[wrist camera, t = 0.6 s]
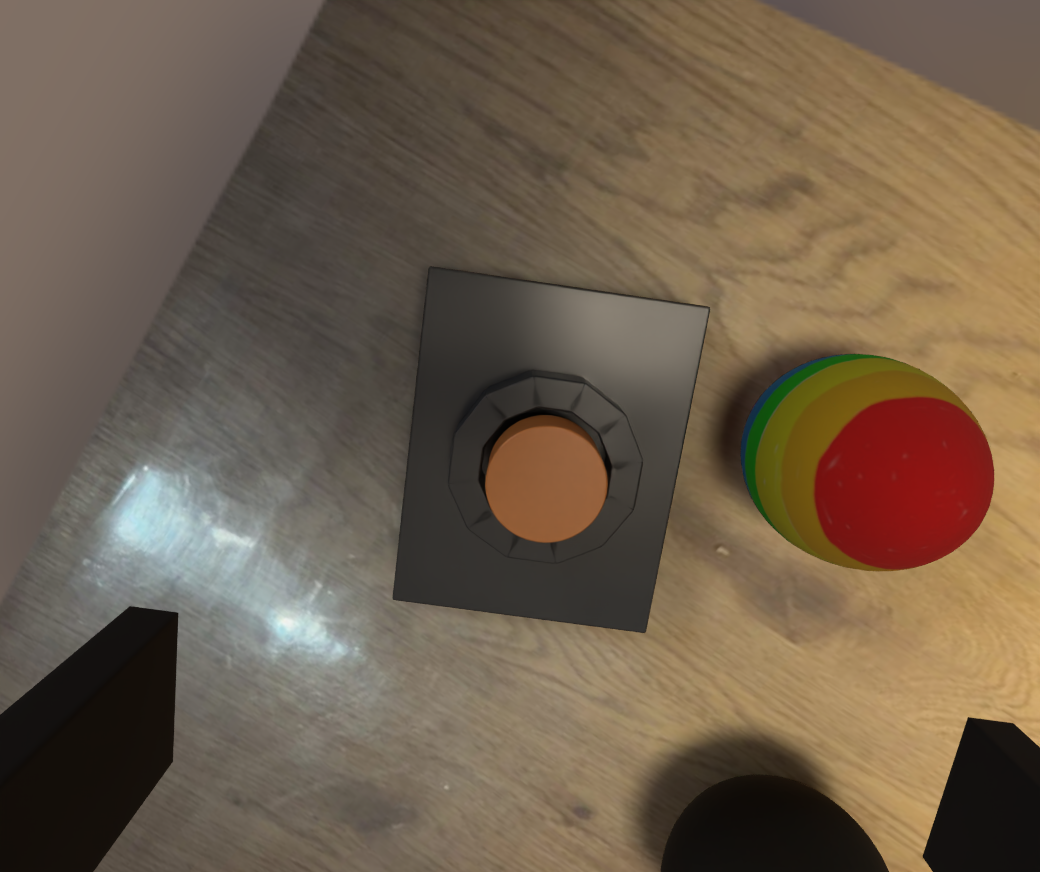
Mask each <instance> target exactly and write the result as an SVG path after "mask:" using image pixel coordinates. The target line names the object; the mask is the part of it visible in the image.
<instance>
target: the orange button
mask: <svg viewBox="0 0 1040 872" xmlns="http://www.w3.org/2000/svg"><path fill="white" fill-rule="evenodd" d="M607 487H608V480H607V472H606V468H605V465H604V462H603V460H602V458H601V455H600V453H599V451H598V449H597V446H596V444H595V443H594V441H593V440H592V438H591V437H590V436H589V434H588V433H587V432H586V431H585V430H584V429H583V428H581V427H580V426H579V425H577V424H576V423H574V422H572V421H570V420H568V419H565V418H562V417H558V416H553V415H537V416H532V417H528V418H525V419H523V420H521V421H518V422H516V423H515V424H513V425H512V426H510V427H509V428H508V429H507V430H505V431H504V432H503V434H502V435H501V436H500V437H499V438H498V440H497V441H496V443H495V445H494V447H493V449H492V451H491V454H490V457H489V462H488V467H487V473H486V480H485V489H486V496H487V500H488V503H489V506H490V508H491V510H492V512H493V514H494V515H495V517H496V518H497V520H498V521H499V522H500V523H501V524H502V525H503V526H504V527H505V528H506V529H507V530H509V531H510V532H512V533H513V534H515V535H517V536H519V537H521V538H523V539H526V540H529V541H534V542H542V543H550V542H558V541H563V540H566V539H569V538H571V537H573V536H576V535H577V534H579V533H581V532H582V531H583V530H585V529H586V528H587V527H588V526H589V525H590V524H591V523H592V522H593V521H594V520H595V519H596V517H597V516H598V515H599V513H600V511H601V509H602V507H603V505H604V502H605V499H606V495H607Z"/></svg>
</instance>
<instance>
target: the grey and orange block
mask: <svg viewBox="0 0 1040 872" xmlns="http://www.w3.org/2000/svg"><path fill="white" fill-rule="evenodd" d="M709 313H710V307H707V306H701V305H694V304H687V303H680V302H674V301H667V300H660V299H653V298H646V297H639V296H632V295H625V294H618V293H612V292H605V291H598V290H591V289H584V288H577V287H570V286H563V285H556V284H550V283H543V282H536V281H529V280H522V279H515V278H508V277H501V276H494V275H488V274H481V273H474V272H467V271H460V270H453V269H446V268H439V267H432V266H431V267H429V269H428V278H427V287H426V296H425V305H424V314H423V324H422V333H421V342H420V351H419V360H418V369H417V379H416V388H415V397H414V406H413V415H412V424H411V433H410V443H409V452H408V461H407V470H406V479H405V488H404V498H403V507H402V516H401V525H400V534H399V543H398V553H397V562H396V571H395V580H394V589H393V600H398V601H406V602H414V603H421V604H429V605H436V606H444V607H451V608H459V609H467V610H474V611H482V612H489V613H497V614H504V615H512V616H520V617H527V618H535V619H542V620H550V621H557V622H565V623H573V624H580V625H588V626H595V627H603V628H610V629H618V630H626V631H633V632H641V633H645V632H646V629H647V624H648V619H649V614H650V609H651V604H652V599H653V594H654V589H655V584H656V579H657V574H658V569H659V564H660V559H661V554H662V548H663V543H664V538H665V533H666V528H667V523H668V518H669V513H670V508H671V503H672V498H673V493H674V488H675V483H676V478H677V473H678V468H679V463H680V458H681V453H682V448H683V443H684V438H685V433H686V428H687V423H688V418H689V413H690V408H691V403H692V398H693V393H694V388H695V383H696V378H697V373H698V368H699V363H700V358H701V353H702V348H703V343H704V338H705V333H706V328H707V323H708V318H709ZM537 415H553V416H558V417H562V418H565V419H568V420H570V421H572V422H574V423H576V424H577V425H579V426H580V427H581V428H583V429H584V430H585V431H586V432H587V433H588V434H589V436H590V437H591V438H592V440H593V441H594V443H595V444H596V446H597V449H598V451H599V453H600V455H601V458H602V460H603V462H604V465H605V468H606V472H607V480H608V487H607V495H606V499H605V502H604V505H603V507H602V509H601V511H600V513H599V515H598V516H597V517H596V519H595V520H594V521H593V522H592V523H591V524H590V525H589V526H588V527H587V528H586V529H585V530H583V531H582V532H581V533H579V534H577V535H576V536H573V537H571V538H569V539H566V540H563V541H558V542H550V543H542V542H534V541H529V540H526V539H523V538H521V537H519V536H517V535H515V534H513V533H512V532H510V531H509V530H507V529H506V528H505V527H504V526H503V525H502V524H501V523H500V522H499V521H498V520H497V518H496V517H495V515H494V514H493V512H492V510H491V508H490V506H489V503H488V500H487V496H486V489H485V480H486V473H487V467H488V462H489V457H490V454H491V451H492V449H493V447H494V445H495V443H496V441H497V440H498V438H499V437H500V436H501V435H502V434H503V432H504V431H505V430H507V429H508V428H509V427H510V426H512V425H513V424H515V423H516V422H518V421H521V420H523V419H525V418H528V417H532V416H537Z"/></svg>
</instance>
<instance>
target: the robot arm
mask: <svg viewBox="0 0 1040 872" xmlns="http://www.w3.org/2000/svg"><path fill="white" fill-rule="evenodd" d="M177 633H178V613H177V612H169V611H162V610H154V609H146V608H139V607H131V606H130V607H129V608H127V609H126V610H125V611H124V612H123V613H121V614H120V615H119V616H118V617H117V618H115V619H114V620H113V621H112V622H111V623H109V624H108V625H107V626H106V627H105V628H103V629H102V630H101V631H100V632H99V633H97V634H96V635H95V636H94V637H93V638H91V639H90V640H89V641H88V642H87V643H86V644H84V645H83V646H82V647H81V648H80V649H78V650H77V651H76V652H75V653H74V654H72V655H71V656H70V657H69V658H68V659H66V660H65V661H64V662H63V663H62V664H60V665H59V666H58V667H57V668H56V669H54V670H53V671H52V672H51V673H50V674H48V675H47V676H46V677H45V678H44V679H42V680H41V681H40V682H39V683H38V684H37V685H35V686H34V687H33V688H32V689H31V690H29V691H28V692H27V693H26V694H25V695H23V696H22V697H21V698H20V699H19V700H17V701H16V702H15V703H14V704H13V705H11V706H10V707H9V708H8V709H7V710H5V711H4V712H3V713H2V714H1V715H0V872H93V871H94V870H95V869H96V867H97V866H98V864H99V863H100V862H101V860H102V859H103V857H104V856H105V855H106V853H107V852H108V851H109V849H110V848H111V846H112V845H113V844H114V842H115V841H116V839H117V838H118V837H119V835H120V834H121V833H122V831H123V830H124V828H125V827H126V826H127V824H128V823H129V822H130V820H131V819H132V817H133V816H134V815H135V813H136V812H137V810H138V809H139V808H140V806H141V805H142V804H143V802H144V801H145V799H146V798H147V797H148V795H149V794H150V792H151V791H152V790H153V788H154V787H155V786H156V784H157V783H158V781H159V780H160V779H161V777H162V776H163V775H164V773H165V772H166V770H167V769H168V768H169V766H170V765H171V763H172V762H173V743H174V715H175V688H176V661H177ZM923 858H924V859H925V861H926V862H927V864H928V865H929V867H930V868H931V870H932V871H933V872H1040V747H1039V746H1038V745H1036V744H1035V743H1034V742H1033V741H1032V740H1031V739H1030V738H1029V737H1028V736H1027V735H1025V734H1024V733H1023V732H1022V731H1021V730H1020V729H1019V728H1018V727H1017V726H1016V725H1015V724H1013V723H1007V722H999V721H991V720H984V719H976V718H969V717H968V719H967V722H966V725H965V728H964V731H963V734H962V738H961V741H960V744H959V747H958V750H957V753H956V756H955V759H954V762H953V765H952V768H951V771H950V774H949V777H948V780H947V783H946V787H945V790H944V793H943V796H942V799H941V802H940V805H939V808H938V811H937V814H936V817H935V820H934V823H933V826H932V829H931V832H930V836H929V839H928V842H927V845H926V848H925V851H924V854H923Z"/></svg>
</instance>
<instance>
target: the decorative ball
mask: <svg viewBox="0 0 1040 872" xmlns="http://www.w3.org/2000/svg"><path fill="white" fill-rule="evenodd" d="M661 872H889V871H888V868H887V866H886V864H885V862H884V860H883V858H882V856H881V855H880V853H879V851H878V850H877V848H876V847H875V845H874V844H873V842H872V841H871V839H870V838H869V836H868V835H867V834H866V833H865V831H864V830H863V829H862V828H861V827H860V826H859V824H858V823H857V822H856V821H855V820H854V819H853V818H852V817H851V816H850V815H849V814H848V813H847V812H846V811H845V810H843V809H842V808H841V807H840V806H839V805H837V804H836V803H835V802H834V801H832V800H831V799H829V798H828V797H826V796H825V795H823V794H821V793H820V792H818V791H816V790H814V789H812V788H810V787H808V786H806V785H804V784H801V783H799V782H796V781H793V780H790V779H786V778H782V777H778V776H770V775H746V776H740V777H735V778H731V779H728V780H725V781H722V782H720V783H718V784H716V785H714V786H712V787H710V788H708V789H707V790H705V791H704V792H703V793H701V794H700V795H699V796H698V797H696V798H695V799H694V800H693V801H692V802H691V803H690V804H689V805H688V806H687V807H686V809H685V810H684V811H683V813H682V814H681V815H680V817H679V818H678V820H677V822H676V823H675V825H674V827H673V829H672V831H671V833H670V836H669V838H668V841H667V844H666V847H665V850H664V854H663V859H662V865H661Z"/></svg>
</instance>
